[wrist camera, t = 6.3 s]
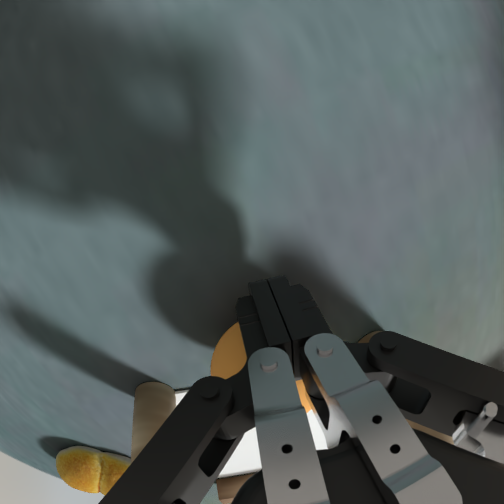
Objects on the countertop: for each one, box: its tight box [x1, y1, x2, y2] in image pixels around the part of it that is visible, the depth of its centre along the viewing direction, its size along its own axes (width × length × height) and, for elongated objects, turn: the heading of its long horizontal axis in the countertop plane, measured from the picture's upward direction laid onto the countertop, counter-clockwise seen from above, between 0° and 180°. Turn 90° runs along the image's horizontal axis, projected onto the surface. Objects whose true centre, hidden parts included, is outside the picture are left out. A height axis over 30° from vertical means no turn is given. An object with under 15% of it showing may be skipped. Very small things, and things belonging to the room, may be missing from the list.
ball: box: [211, 322, 311, 413], centre depth 14 cm, size 6×6×6 cm
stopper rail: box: [216, 473, 255, 504], centre depth 27 cm, size 14×2×2 cm, turn 98°
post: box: [131, 382, 176, 463], centre depth 14 cm, size 3×3×9 cm
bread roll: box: [56, 446, 131, 495], centre depth 21 cm, size 8×9×4 cm
